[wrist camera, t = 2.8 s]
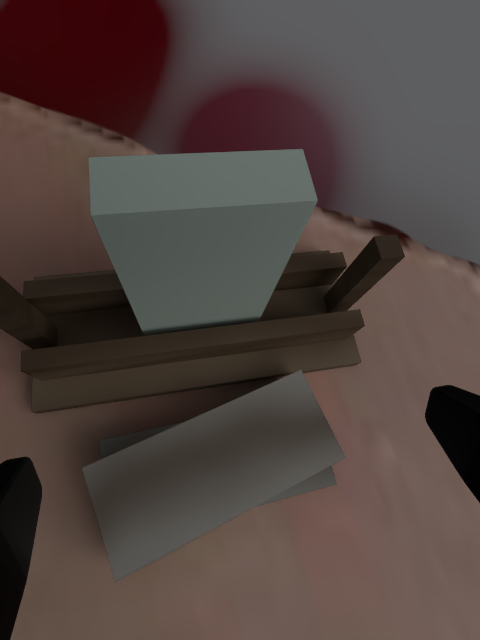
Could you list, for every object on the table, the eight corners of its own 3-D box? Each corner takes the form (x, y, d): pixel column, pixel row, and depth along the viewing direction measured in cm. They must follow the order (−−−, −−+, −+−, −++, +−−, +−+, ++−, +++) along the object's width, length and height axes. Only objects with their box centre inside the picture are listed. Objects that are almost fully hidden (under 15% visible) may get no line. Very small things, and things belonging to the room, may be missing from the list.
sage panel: (254, 329, 22) (317, 200, 11) (147, 342, 21) (90, 214, 9) (249, 299, 22) (302, 149, 11) (144, 311, 21) (88, 157, 10)
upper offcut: (334, 457, 20) (345, 457, 18) (122, 570, 17) (115, 582, 15) (293, 375, 21) (301, 369, 20) (91, 466, 18) (81, 468, 17)
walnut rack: (356, 365, 23) (432, 324, 15) (37, 413, 19) (-58, 391, 12) (325, 256, 25) (377, 177, 18) (40, 283, 22) (-37, 200, 15)
